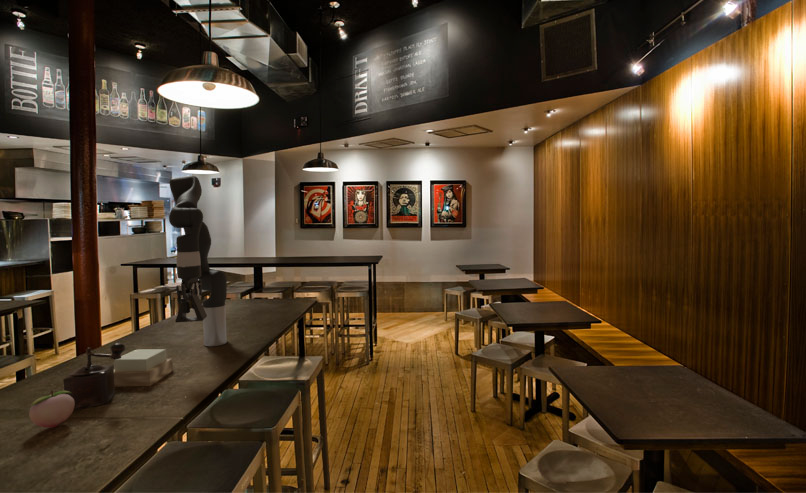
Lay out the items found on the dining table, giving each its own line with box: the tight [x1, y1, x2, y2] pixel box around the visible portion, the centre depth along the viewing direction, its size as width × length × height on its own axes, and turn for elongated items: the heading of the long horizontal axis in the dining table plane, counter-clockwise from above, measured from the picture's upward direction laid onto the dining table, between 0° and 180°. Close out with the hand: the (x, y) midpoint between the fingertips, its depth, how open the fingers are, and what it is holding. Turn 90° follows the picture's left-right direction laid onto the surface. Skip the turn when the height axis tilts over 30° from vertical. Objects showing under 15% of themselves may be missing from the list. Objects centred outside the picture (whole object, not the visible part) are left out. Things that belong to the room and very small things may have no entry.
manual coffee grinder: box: [63, 342, 126, 410], centre depth 125 cm, size 16×11×18 cm
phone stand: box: [174, 288, 207, 324], centre depth 145 cm, size 9×6×12 cm, turn 103°
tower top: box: [113, 348, 168, 371], centre depth 143 cm, size 11×11×4 cm
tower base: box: [114, 358, 174, 387], centre depth 143 cm, size 14×14×5 cm
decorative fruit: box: [28, 390, 75, 429], centre depth 108 cm, size 9×8×10 cm
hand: (191, 310), depth 146 cm, fingers closed on phone stand, 6 cm apart
